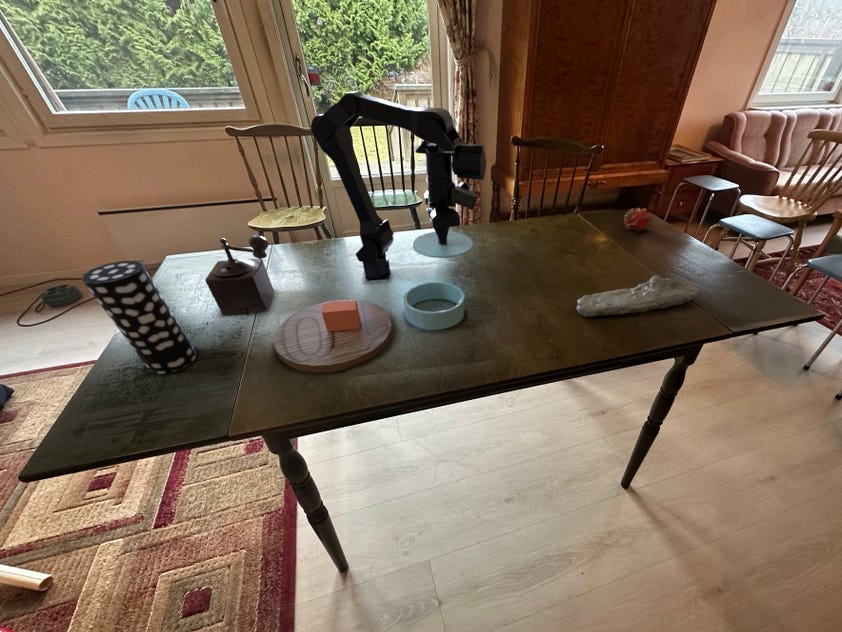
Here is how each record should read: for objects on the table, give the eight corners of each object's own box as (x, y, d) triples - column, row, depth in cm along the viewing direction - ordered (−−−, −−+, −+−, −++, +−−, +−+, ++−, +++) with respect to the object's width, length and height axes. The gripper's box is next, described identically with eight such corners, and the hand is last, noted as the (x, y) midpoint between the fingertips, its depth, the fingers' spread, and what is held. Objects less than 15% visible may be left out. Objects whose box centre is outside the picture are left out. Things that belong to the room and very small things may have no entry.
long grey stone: (566, 306, 98) (584, 329, 91) (569, 290, 94) (588, 312, 88) (679, 284, 105) (704, 303, 98) (686, 267, 101) (712, 286, 95)
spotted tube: (163, 348, 80) (103, 261, 67) (204, 347, 80) (153, 260, 67) (139, 374, 73) (68, 283, 60) (184, 373, 74) (123, 282, 61)
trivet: (376, 297, 97) (375, 291, 96) (407, 352, 80) (406, 345, 79) (271, 320, 88) (269, 313, 87) (282, 387, 71) (278, 380, 70)
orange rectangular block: (327, 331, 82) (321, 312, 79) (329, 321, 85) (323, 302, 82) (360, 328, 83) (355, 309, 80) (360, 318, 86) (356, 300, 83)
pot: (407, 334, 85) (405, 316, 82) (404, 301, 96) (402, 284, 93) (469, 328, 88) (469, 310, 85) (459, 296, 98) (459, 279, 95)
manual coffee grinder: (220, 317, 89) (182, 244, 77) (232, 294, 97) (199, 225, 85) (289, 310, 92) (263, 239, 80) (295, 288, 100) (272, 221, 88)
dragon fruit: (617, 235, 137) (641, 235, 142) (635, 228, 129) (660, 228, 134) (616, 211, 137) (640, 212, 141) (634, 203, 129) (659, 204, 134)
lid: (415, 262, 88) (413, 242, 85) (410, 237, 100) (408, 218, 97) (478, 257, 91) (479, 237, 88) (466, 233, 103) (466, 214, 99)
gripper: (483, 186, 79) (481, 255, 89) (466, 164, 93) (466, 226, 103) (430, 188, 77) (435, 259, 87) (421, 165, 91) (426, 229, 101)
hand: (442, 242), depth 95 cm, fingers closed on lid, 2 cm apart
